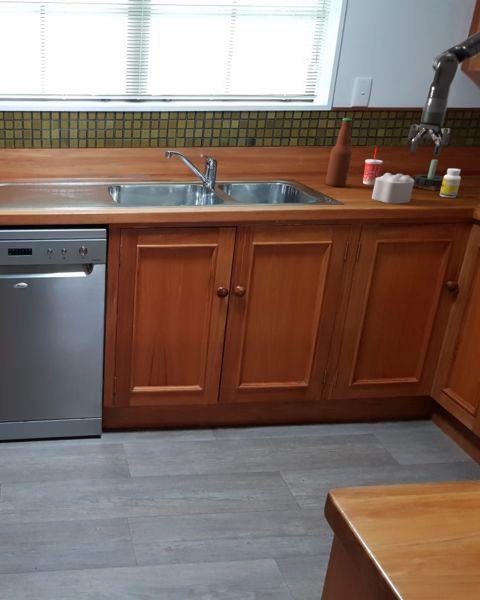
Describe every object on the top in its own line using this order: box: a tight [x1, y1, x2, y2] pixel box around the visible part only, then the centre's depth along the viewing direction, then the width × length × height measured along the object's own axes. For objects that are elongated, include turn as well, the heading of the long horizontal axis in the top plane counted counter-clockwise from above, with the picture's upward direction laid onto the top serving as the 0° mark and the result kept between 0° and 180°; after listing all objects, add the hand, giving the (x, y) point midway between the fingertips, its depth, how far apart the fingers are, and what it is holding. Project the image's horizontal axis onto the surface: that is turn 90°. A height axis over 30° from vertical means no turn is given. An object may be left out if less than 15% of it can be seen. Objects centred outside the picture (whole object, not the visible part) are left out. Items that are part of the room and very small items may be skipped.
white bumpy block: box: [371, 172, 414, 204], centre depth 213 cm, size 10×13×9 cm
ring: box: [412, 173, 444, 187], centre depth 234 cm, size 11×11×2 cm
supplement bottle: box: [439, 168, 462, 199], centre depth 219 cm, size 5×5×10 cm
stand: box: [413, 159, 441, 192], centre depth 233 cm, size 9×9×10 cm
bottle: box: [325, 117, 353, 188], centre depth 231 cm, size 7×7×25 cm
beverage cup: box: [362, 147, 384, 186], centre depth 237 cm, size 6×6×14 cm
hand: (424, 154), depth 234 cm, fingers open, 8 cm apart
